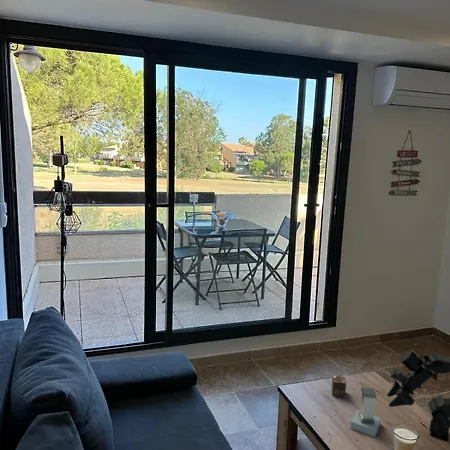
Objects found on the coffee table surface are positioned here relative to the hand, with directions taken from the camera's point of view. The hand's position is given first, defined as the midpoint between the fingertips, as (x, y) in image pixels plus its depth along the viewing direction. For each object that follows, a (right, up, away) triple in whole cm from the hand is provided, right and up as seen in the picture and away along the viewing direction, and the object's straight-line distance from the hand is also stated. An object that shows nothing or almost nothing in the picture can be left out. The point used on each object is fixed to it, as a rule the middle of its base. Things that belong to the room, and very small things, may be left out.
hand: (388, 400), depth 171 cm
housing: (-9, -8, +1) cm, 12 cm away
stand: (-9, -11, +2) cm, 15 cm away
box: (-14, -8, +26) cm, 30 cm away
